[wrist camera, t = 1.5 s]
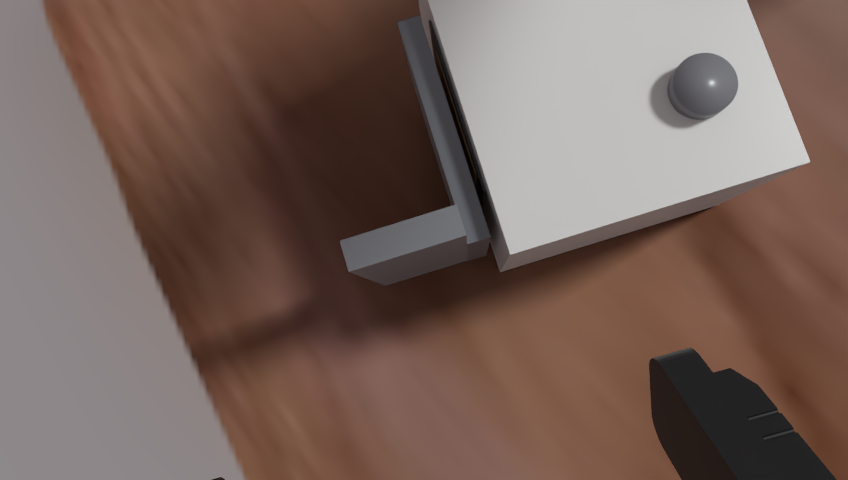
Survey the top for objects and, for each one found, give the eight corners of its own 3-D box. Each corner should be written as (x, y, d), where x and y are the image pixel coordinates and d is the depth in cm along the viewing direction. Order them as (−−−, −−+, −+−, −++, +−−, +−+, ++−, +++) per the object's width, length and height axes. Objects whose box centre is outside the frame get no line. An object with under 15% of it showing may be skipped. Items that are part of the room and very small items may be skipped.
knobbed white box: (621, -49, 38) (681, -196, 27) (716, 205, 35) (821, 157, 25) (415, 18, 38) (393, -101, 27) (497, 273, 36) (507, 254, 25)
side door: (430, 81, 36) (413, -21, 25) (486, 255, 35) (493, 227, 24) (335, 111, 37) (276, 24, 26) (386, 286, 35) (348, 272, 24)
